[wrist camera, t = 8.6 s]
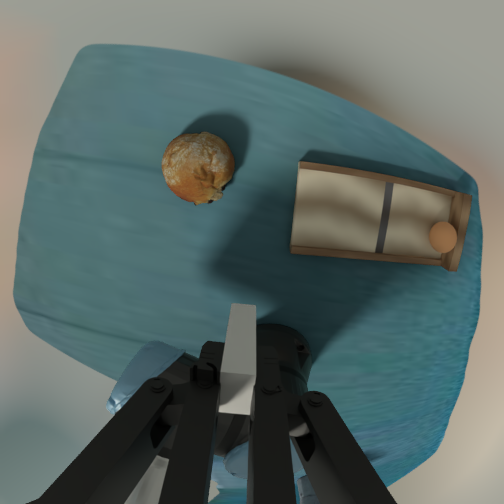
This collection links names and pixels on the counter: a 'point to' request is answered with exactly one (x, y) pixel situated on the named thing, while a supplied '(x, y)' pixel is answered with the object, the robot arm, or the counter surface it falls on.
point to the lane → (373, 216)
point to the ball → (443, 237)
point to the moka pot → (306, 491)
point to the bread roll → (198, 167)
